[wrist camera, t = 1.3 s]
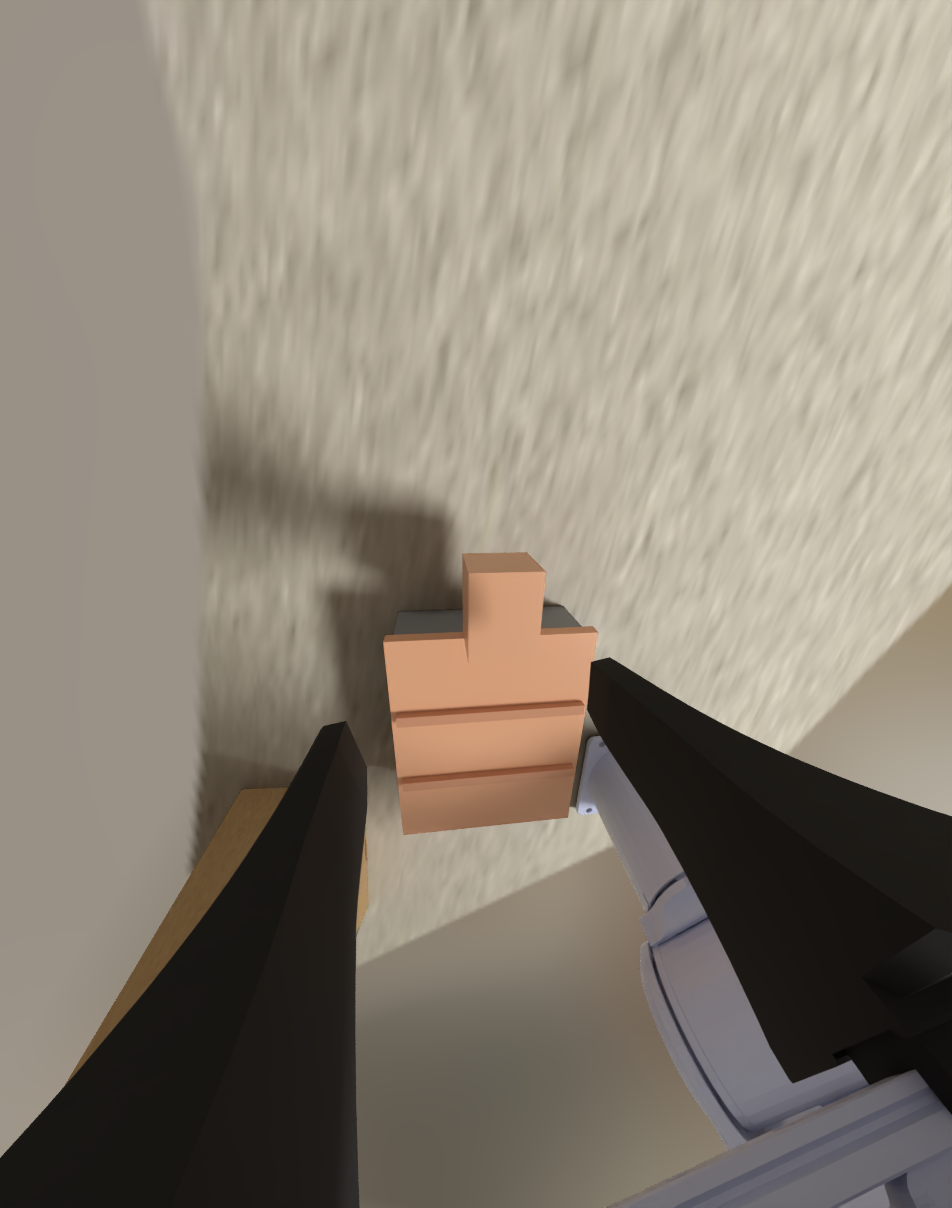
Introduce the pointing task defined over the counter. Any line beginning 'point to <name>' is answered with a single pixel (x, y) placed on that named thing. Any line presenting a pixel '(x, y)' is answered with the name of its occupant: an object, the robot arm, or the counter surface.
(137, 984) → the sandwich container
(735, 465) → the counter surface
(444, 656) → the lid
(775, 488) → the counter surface
